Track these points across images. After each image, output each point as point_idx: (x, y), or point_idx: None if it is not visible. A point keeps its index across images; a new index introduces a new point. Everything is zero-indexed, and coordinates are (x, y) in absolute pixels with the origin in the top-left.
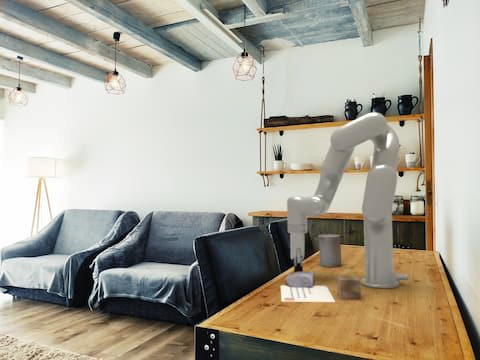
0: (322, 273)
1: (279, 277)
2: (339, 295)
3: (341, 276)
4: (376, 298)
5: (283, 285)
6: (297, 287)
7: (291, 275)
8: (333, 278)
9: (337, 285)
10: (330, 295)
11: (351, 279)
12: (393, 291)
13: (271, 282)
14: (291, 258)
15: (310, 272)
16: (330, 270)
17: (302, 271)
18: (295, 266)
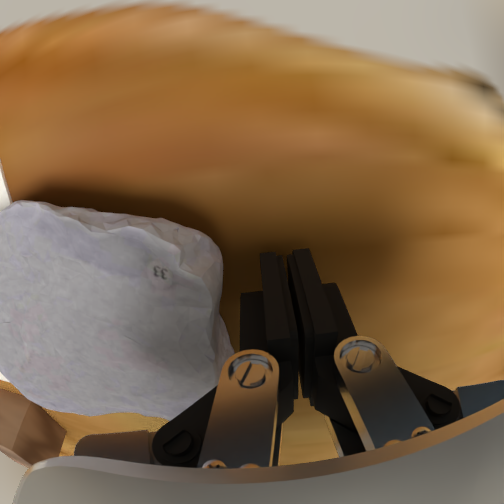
0: (440, 374)
1: (348, 65)
2: (7, 396)
3: (15, 454)
4: (65, 445)
5: (2, 177)
6: None
7: (80, 260)
8: (313, 424)
9: (21, 423)
10: (4, 378)
11: (6, 453)
12: None
13: (78, 30)
14: (40, 464)
15: (173, 415)
16: (478, 382)
17: (190, 377)
18: (227, 365)
